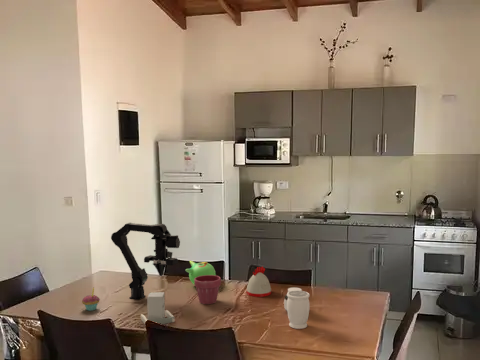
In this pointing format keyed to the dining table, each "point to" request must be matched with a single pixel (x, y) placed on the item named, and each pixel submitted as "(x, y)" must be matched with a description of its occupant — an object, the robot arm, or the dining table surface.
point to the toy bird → (200, 270)
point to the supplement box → (156, 305)
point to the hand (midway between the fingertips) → (161, 275)
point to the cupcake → (91, 301)
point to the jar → (298, 309)
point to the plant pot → (207, 288)
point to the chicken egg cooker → (259, 284)
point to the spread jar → (287, 297)
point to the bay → (163, 320)
